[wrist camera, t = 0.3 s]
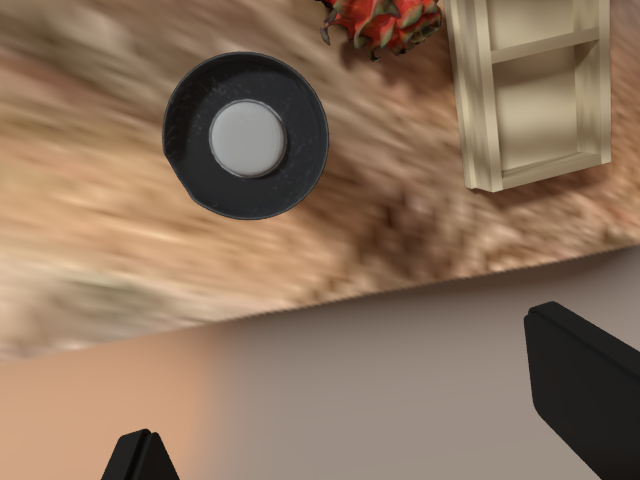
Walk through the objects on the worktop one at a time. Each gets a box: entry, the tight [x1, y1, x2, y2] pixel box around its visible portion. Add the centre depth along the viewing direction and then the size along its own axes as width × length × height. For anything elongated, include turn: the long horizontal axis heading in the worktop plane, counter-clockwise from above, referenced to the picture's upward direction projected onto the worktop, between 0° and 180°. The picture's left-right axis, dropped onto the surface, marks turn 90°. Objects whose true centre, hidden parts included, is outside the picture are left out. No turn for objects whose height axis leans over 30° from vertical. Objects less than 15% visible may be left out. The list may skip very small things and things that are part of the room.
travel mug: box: [162, 52, 329, 220], centre depth 28 cm, size 8×8×20 cm
